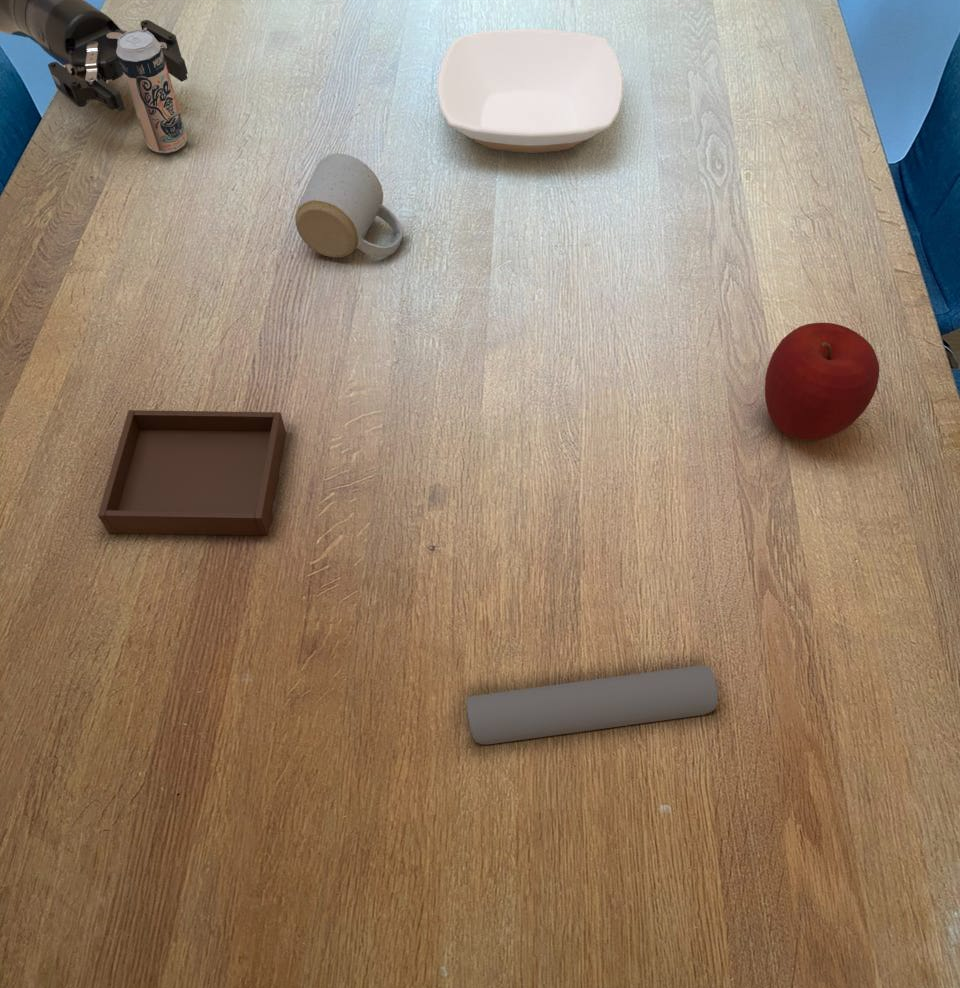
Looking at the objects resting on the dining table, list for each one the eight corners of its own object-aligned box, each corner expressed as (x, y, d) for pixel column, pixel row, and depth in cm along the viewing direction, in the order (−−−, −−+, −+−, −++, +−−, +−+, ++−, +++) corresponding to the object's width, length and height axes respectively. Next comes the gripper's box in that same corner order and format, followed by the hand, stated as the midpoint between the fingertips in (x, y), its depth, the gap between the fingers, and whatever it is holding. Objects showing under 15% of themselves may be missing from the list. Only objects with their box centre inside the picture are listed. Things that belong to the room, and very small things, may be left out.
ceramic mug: (296, 257, 102) (284, 193, 95) (322, 210, 106) (312, 145, 99) (390, 274, 100) (384, 210, 94) (412, 226, 104) (408, 161, 98)
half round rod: (718, 713, 74) (723, 703, 72) (471, 747, 72) (471, 738, 71) (703, 666, 76) (708, 655, 74) (464, 698, 75) (463, 688, 73)
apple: (823, 377, 92) (857, 294, 83) (873, 448, 87) (915, 368, 79) (735, 399, 91) (760, 317, 82) (780, 473, 86) (813, 394, 77)
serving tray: (108, 533, 83) (97, 515, 81) (137, 429, 89) (128, 409, 87) (267, 536, 83) (261, 518, 81) (285, 431, 89) (280, 412, 87)
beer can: (170, 161, 111) (137, 56, 100) (139, 148, 112) (103, 43, 102) (196, 140, 113) (167, 35, 102) (166, 128, 114) (134, 23, 104)
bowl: (444, 70, 120) (442, 27, 115) (615, 72, 119) (620, 29, 114) (433, 176, 109) (431, 132, 104) (621, 179, 108) (627, 135, 103)
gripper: (134, 42, 118) (211, 94, 112) (34, 89, 113) (110, 146, 107) (114, -24, 111) (194, 28, 105) (7, 22, 106) (85, 79, 100)
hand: (152, 87), depth 106 cm, fingers open, 8 cm apart
